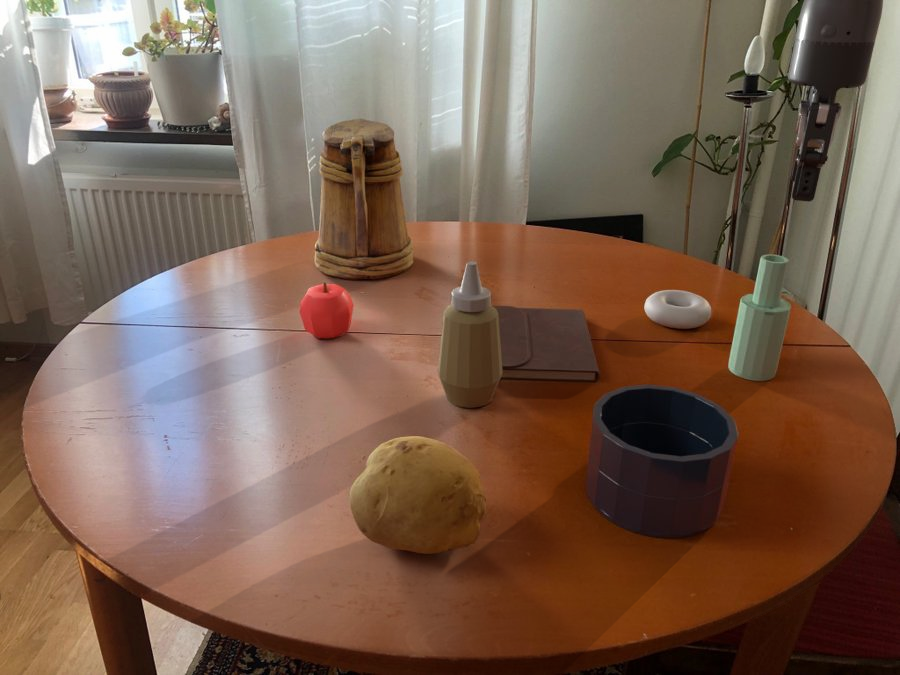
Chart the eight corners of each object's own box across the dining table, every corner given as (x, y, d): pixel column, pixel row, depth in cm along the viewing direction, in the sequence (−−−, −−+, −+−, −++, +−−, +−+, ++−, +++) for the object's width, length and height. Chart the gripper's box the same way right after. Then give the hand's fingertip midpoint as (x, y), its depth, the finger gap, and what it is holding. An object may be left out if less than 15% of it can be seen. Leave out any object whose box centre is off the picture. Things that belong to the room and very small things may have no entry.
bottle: (771, 362, 102) (795, 252, 95) (779, 383, 97) (805, 268, 90) (725, 357, 103) (746, 249, 96) (731, 378, 98) (753, 265, 91)
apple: (306, 347, 106) (301, 296, 102) (297, 325, 113) (293, 276, 109) (360, 339, 108) (357, 289, 105) (349, 318, 115) (346, 269, 111)
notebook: (583, 318, 115) (584, 307, 114) (599, 381, 97) (600, 368, 96) (486, 316, 116) (486, 304, 115) (484, 378, 98) (485, 365, 97)
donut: (665, 301, 121) (630, 317, 115) (668, 281, 120) (632, 297, 114) (721, 320, 115) (687, 338, 109) (725, 300, 113) (691, 317, 107)
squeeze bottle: (454, 376, 99) (455, 247, 91) (511, 389, 95) (517, 257, 87) (426, 404, 92) (424, 268, 84) (486, 420, 89) (489, 280, 81)
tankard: (407, 243, 146) (404, 113, 135) (422, 289, 126) (420, 139, 114) (314, 248, 144) (303, 116, 133) (314, 295, 123) (301, 143, 112)
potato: (484, 575, 66) (487, 484, 62) (345, 569, 67) (337, 479, 62) (486, 502, 75) (488, 418, 71) (363, 497, 76) (358, 414, 71)
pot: (714, 463, 81) (728, 392, 77) (729, 547, 69) (746, 469, 65) (588, 448, 84) (595, 378, 80) (582, 527, 72) (590, 450, 68)
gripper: (883, 43, 69) (841, 211, 77) (869, 32, 81) (834, 179, 88) (796, 40, 72) (764, 203, 79) (795, 30, 84) (767, 173, 91)
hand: (801, 190), depth 84 cm, fingers open, 8 cm apart
